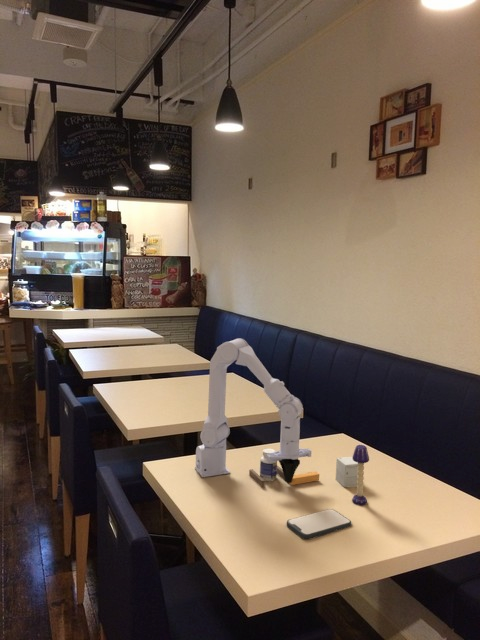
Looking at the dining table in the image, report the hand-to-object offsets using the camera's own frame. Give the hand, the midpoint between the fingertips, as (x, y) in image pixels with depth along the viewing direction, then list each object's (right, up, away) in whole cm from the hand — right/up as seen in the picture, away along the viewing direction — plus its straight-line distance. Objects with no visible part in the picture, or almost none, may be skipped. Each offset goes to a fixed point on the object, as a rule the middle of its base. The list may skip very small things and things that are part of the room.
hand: (288, 481), depth 157 cm
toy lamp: (+19, -3, -9) cm, 22 cm away
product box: (+19, -2, +4) cm, 20 cm away
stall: (-6, -1, +5) cm, 8 cm away
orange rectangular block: (+5, -1, +3) cm, 6 cm away
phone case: (+6, -5, -22) cm, 24 cm away
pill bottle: (-6, -1, +6) cm, 8 cm away
